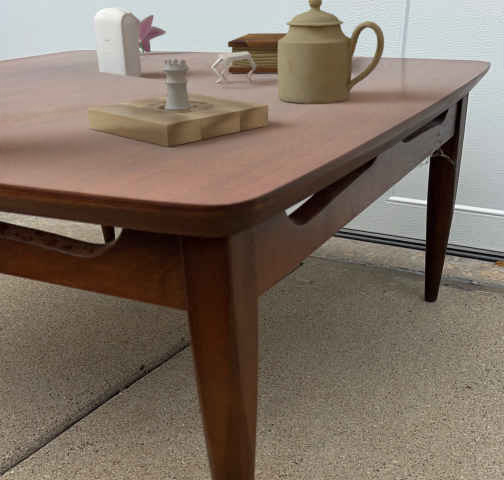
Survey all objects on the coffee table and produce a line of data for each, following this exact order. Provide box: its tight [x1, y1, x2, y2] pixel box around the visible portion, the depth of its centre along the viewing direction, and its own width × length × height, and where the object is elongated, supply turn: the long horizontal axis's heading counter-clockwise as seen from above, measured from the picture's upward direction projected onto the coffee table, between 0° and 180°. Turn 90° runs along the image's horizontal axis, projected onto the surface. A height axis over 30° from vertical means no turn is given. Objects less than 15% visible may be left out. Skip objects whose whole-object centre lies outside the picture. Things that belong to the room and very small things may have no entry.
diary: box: [227, 32, 287, 74], centre depth 141 cm, size 23×19×6 cm
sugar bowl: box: [277, 0, 385, 105], centre depth 102 cm, size 15×11×15 cm
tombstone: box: [93, 6, 142, 78], centre depth 129 cm, size 10×4×12 cm, turn 44°
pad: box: [87, 92, 269, 148], centre depth 87 cm, size 16×16×2 cm
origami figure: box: [210, 51, 257, 89], centre depth 119 cm, size 12×8×5 cm
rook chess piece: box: [162, 58, 192, 110], centre depth 85 cm, size 4×4×8 cm
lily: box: [135, 14, 167, 54], centre depth 166 cm, size 12×12×10 cm
